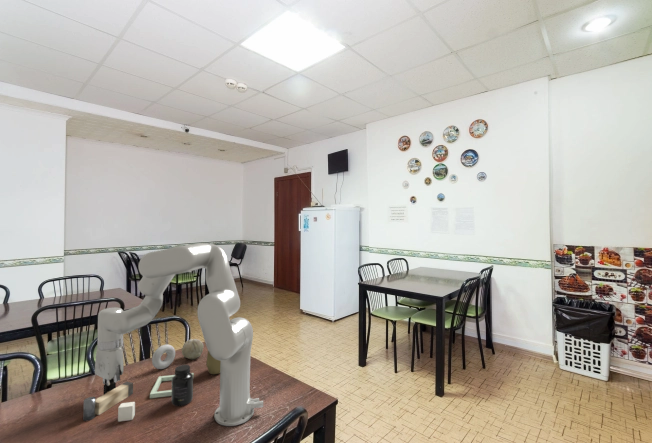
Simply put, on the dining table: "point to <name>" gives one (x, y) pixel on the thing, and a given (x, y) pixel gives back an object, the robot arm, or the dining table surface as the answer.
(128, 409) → the block
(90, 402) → the pivot post
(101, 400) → the leg
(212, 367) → the squeeze bottle
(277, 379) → the dining table surface
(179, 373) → the supplement bottle
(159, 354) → the donut
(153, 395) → the seat frame
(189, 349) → the garlic bulb
